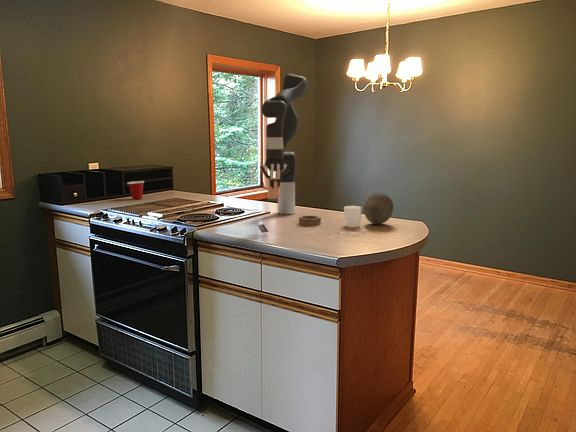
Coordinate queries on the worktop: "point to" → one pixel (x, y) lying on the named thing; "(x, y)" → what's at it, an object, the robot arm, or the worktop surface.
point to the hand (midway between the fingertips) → (274, 187)
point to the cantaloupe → (378, 208)
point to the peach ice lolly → (273, 190)
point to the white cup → (352, 216)
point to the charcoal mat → (263, 228)
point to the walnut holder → (309, 221)
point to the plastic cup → (136, 189)
